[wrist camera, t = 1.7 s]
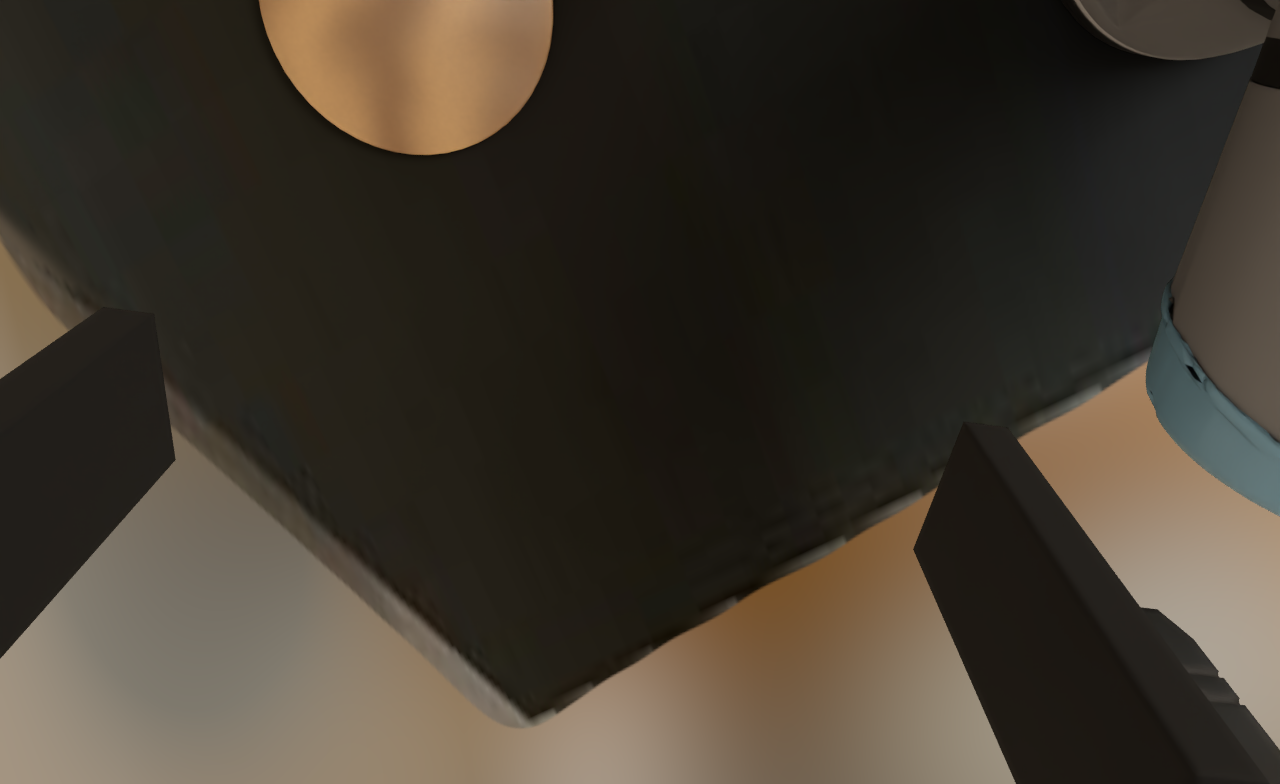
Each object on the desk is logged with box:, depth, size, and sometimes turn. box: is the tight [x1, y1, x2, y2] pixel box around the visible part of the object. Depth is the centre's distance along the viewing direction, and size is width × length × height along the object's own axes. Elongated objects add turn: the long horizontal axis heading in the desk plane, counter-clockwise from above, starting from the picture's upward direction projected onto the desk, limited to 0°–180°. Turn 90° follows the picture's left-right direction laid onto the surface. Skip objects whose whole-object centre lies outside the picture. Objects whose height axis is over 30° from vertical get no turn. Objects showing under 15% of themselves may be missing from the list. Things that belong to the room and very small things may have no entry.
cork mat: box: [259, 0, 553, 155], centre depth 37 cm, size 13×13×1 cm
